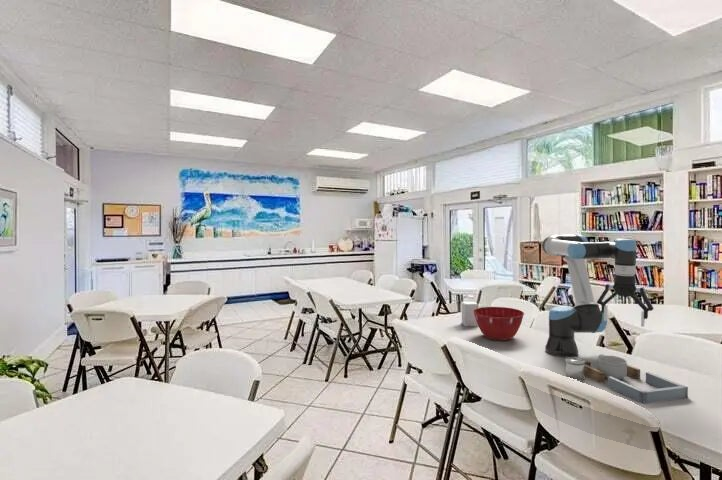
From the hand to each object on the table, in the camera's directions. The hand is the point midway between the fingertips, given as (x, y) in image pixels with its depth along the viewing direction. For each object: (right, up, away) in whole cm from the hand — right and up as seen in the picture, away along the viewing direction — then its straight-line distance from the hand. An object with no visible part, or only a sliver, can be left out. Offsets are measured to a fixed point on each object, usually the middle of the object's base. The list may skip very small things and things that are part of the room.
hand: (623, 323), depth 167 cm
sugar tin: (-22, -23, -2) cm, 32 cm away
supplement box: (-41, -21, +90) cm, 101 cm away
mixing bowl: (-33, -22, +60) cm, 72 cm away
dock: (-3, -23, -16) cm, 29 cm away
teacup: (-6, -23, -1) cm, 24 cm away
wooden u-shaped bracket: (-7, -23, +1) cm, 24 cm away
